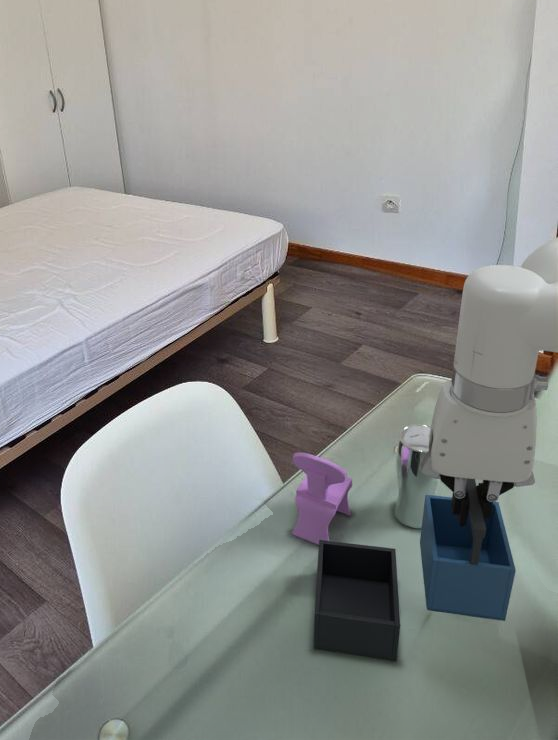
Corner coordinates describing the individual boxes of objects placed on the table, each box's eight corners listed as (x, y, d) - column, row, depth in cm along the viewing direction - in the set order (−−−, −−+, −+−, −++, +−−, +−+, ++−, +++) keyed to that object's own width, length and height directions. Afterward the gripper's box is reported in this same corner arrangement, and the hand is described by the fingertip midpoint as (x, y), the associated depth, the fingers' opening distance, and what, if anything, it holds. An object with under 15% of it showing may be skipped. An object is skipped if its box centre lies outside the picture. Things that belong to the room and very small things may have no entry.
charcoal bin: (392, 583, 96) (395, 548, 93) (396, 662, 86) (400, 626, 83) (318, 573, 99) (319, 539, 96) (313, 649, 88) (314, 613, 85)
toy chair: (358, 514, 108) (362, 438, 102) (336, 552, 102) (339, 473, 95) (309, 496, 113) (310, 421, 106) (285, 531, 106) (285, 454, 100)
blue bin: (489, 550, 86) (504, 468, 81) (505, 621, 77) (523, 534, 71) (419, 542, 88) (429, 461, 82) (426, 610, 79) (438, 524, 73)
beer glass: (391, 527, 105) (398, 450, 99) (390, 496, 111) (396, 421, 105) (439, 533, 104) (450, 455, 97) (436, 501, 110) (445, 425, 103)
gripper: (564, 369, 72) (535, 503, 80) (409, 359, 75) (396, 488, 84) (584, 411, 65) (551, 552, 73) (413, 399, 69) (400, 535, 77)
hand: (469, 517), depth 78 cm, fingers closed on blue bin, 1 cm apart
